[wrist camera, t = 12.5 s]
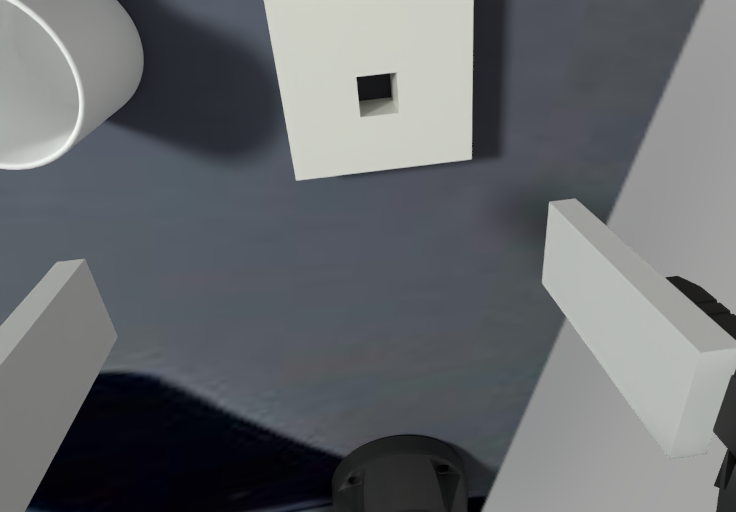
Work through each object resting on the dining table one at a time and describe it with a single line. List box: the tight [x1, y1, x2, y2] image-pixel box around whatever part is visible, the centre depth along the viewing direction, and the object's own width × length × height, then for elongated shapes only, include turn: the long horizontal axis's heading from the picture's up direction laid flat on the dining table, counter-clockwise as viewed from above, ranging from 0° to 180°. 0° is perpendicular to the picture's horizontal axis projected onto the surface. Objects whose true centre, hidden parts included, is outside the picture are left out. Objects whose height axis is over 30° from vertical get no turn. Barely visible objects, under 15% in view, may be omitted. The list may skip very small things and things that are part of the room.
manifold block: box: [264, 0, 474, 181], centre depth 31 cm, size 20×12×4 cm, turn 5°
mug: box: [0, 0, 144, 170], centre depth 28 cm, size 9×12×11 cm
